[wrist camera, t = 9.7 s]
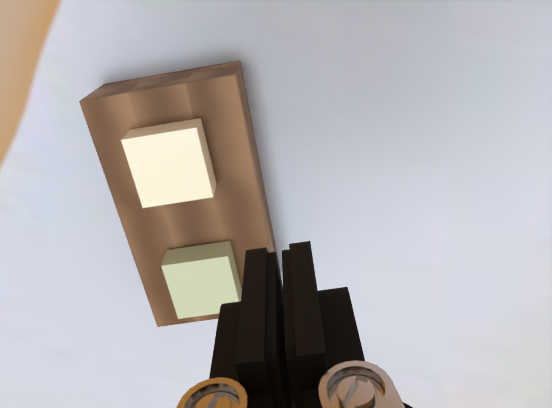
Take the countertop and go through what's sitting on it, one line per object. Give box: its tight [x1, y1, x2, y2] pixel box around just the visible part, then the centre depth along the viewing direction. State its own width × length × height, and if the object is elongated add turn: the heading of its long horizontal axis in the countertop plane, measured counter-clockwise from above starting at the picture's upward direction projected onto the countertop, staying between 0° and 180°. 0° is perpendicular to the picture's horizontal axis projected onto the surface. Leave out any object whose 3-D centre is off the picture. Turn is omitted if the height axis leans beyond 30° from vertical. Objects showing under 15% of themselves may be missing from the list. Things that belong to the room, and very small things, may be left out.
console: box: [79, 61, 281, 327], centre depth 43 cm, size 12×22×6 cm, turn 9°
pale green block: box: [161, 241, 242, 319], centre depth 44 cm, size 6×6×7 cm
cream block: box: [121, 118, 217, 208], centre depth 39 cm, size 6×6×7 cm
